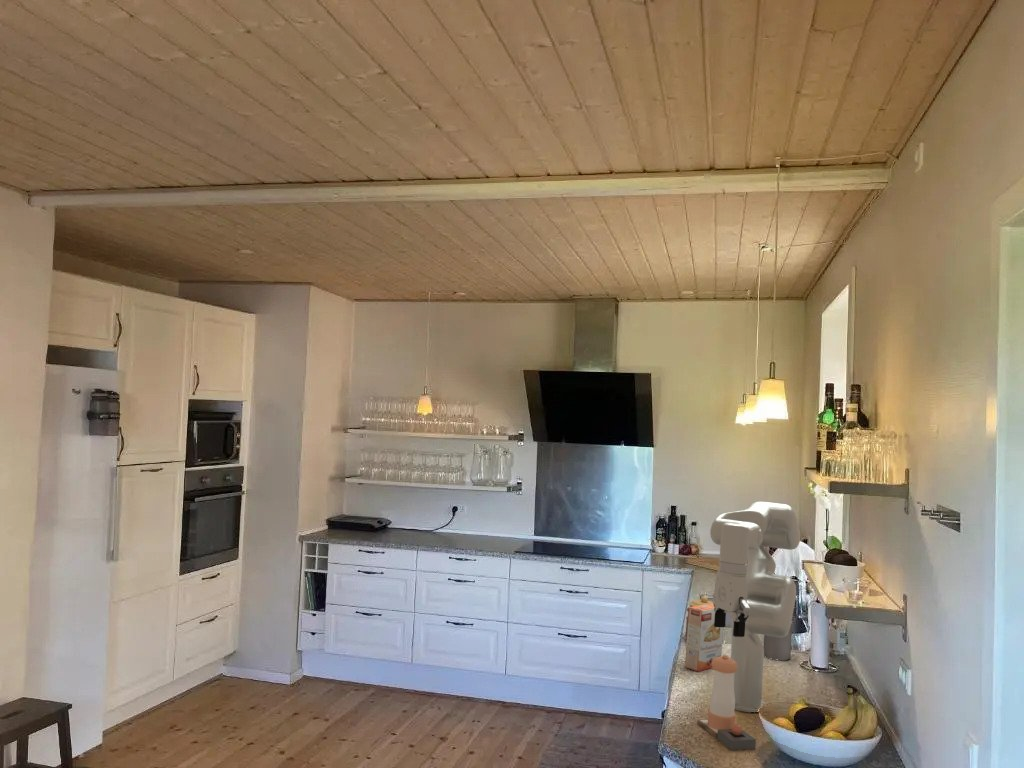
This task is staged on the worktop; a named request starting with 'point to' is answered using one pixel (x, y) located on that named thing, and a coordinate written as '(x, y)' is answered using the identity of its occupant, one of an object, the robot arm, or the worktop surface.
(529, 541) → the worktop surface
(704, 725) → the drawing board
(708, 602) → the canister
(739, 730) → the button
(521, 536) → the worktop surface
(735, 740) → the button housing
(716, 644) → the cracker box
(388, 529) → the worktop surface
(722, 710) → the salt shaker
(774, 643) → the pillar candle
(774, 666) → the worktop surface
